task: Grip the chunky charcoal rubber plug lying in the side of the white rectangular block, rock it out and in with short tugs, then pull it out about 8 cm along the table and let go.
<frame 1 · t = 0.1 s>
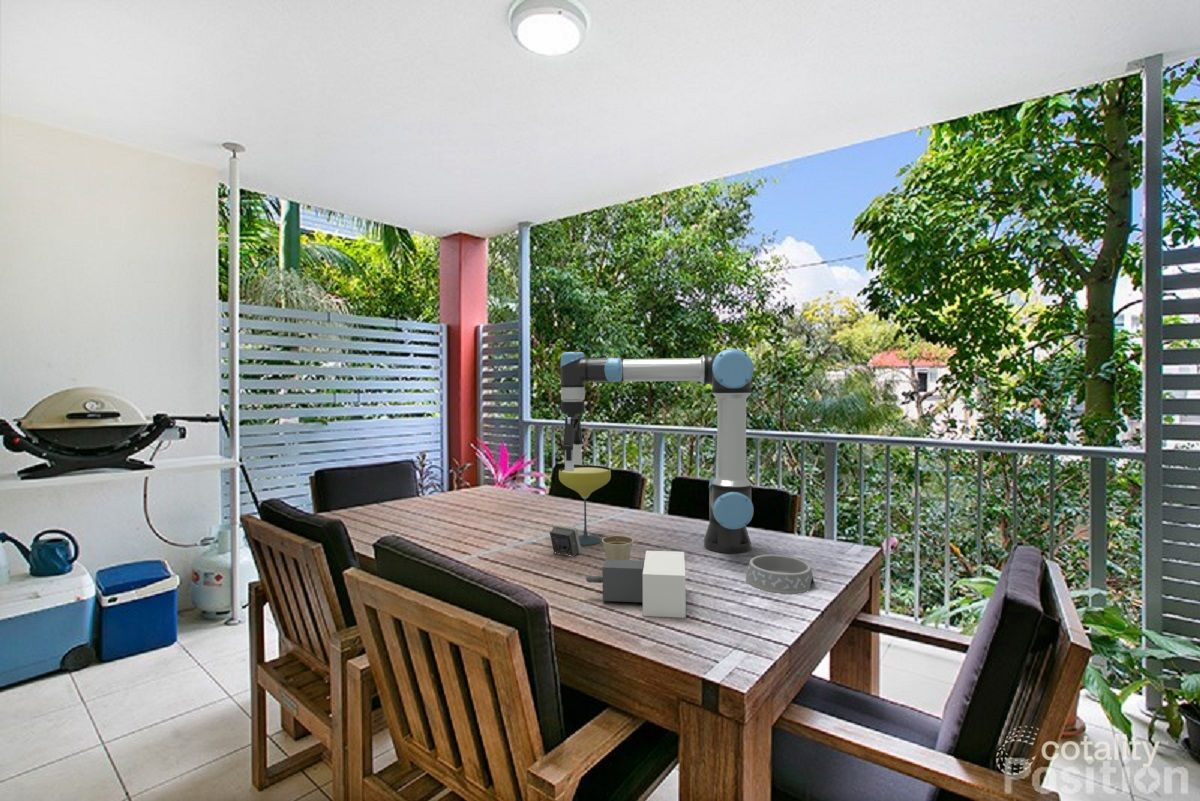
hand: (573, 467, 176), 28 cm above the table, tool pointing down, fingers open, 13 cm apart
flower pot: (618, 569, 163), on the table
white rectangular block: (664, 601, 139), on the table
cocktail glass: (585, 541, 192), on the table
dog bowl: (779, 583, 152), on the table
plug: (628, 580, 140), point 5 cm above the table, slide at 0.0 cm
electrical switch: (565, 554, 178), on the table
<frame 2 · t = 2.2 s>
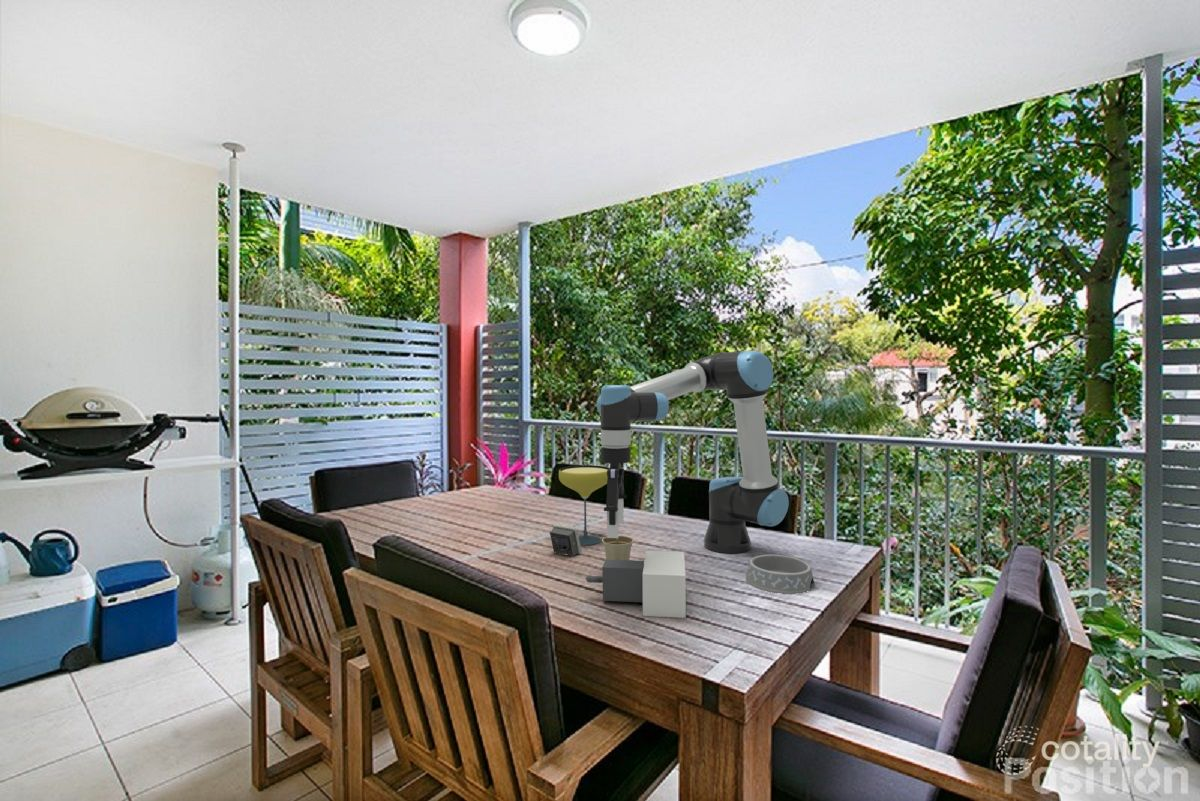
hand: (615, 530, 140), 18 cm above the table, tool pointing down, fingers open, 13 cm apart
nothing on the table moved.
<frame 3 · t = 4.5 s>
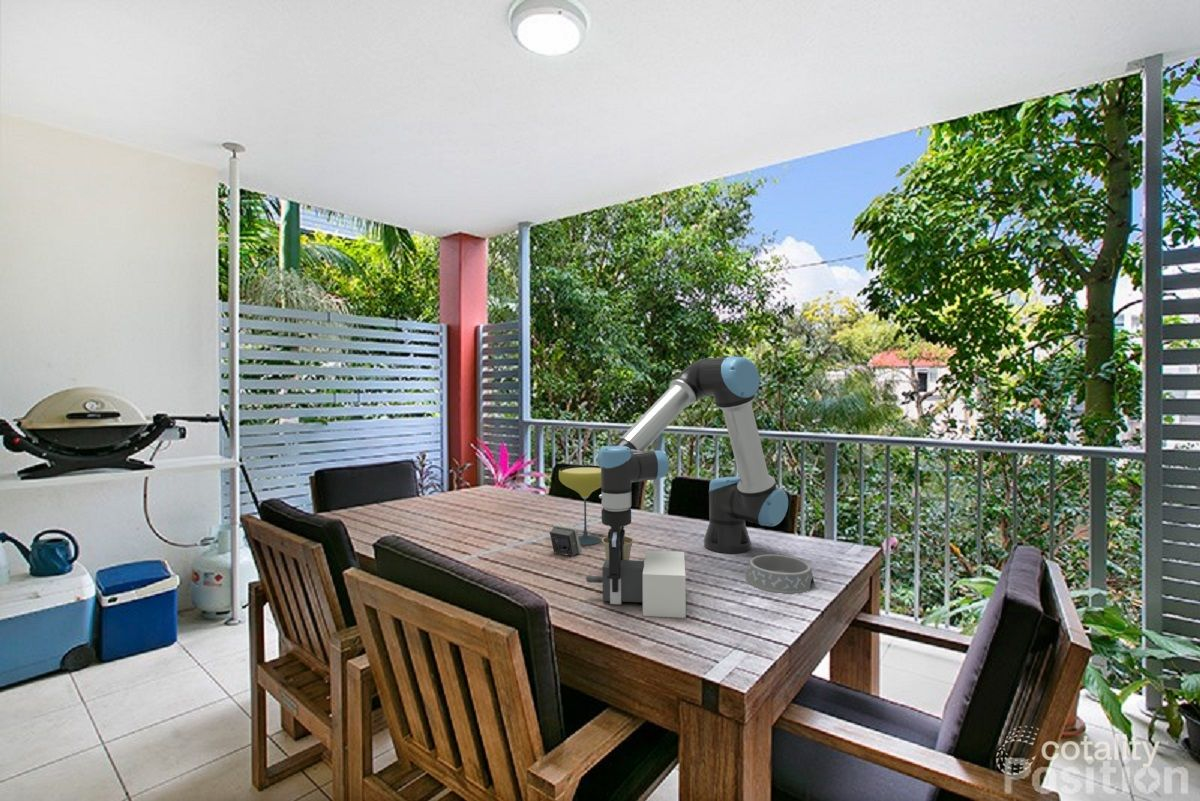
hand: (617, 598, 140), 0 cm above the table, tool pointing down, fingers closed on plug, 6 cm apart
plug: (628, 580, 140), point 5 cm above the table, slide at 0.0 cm, touching gripper
everything else where it was.
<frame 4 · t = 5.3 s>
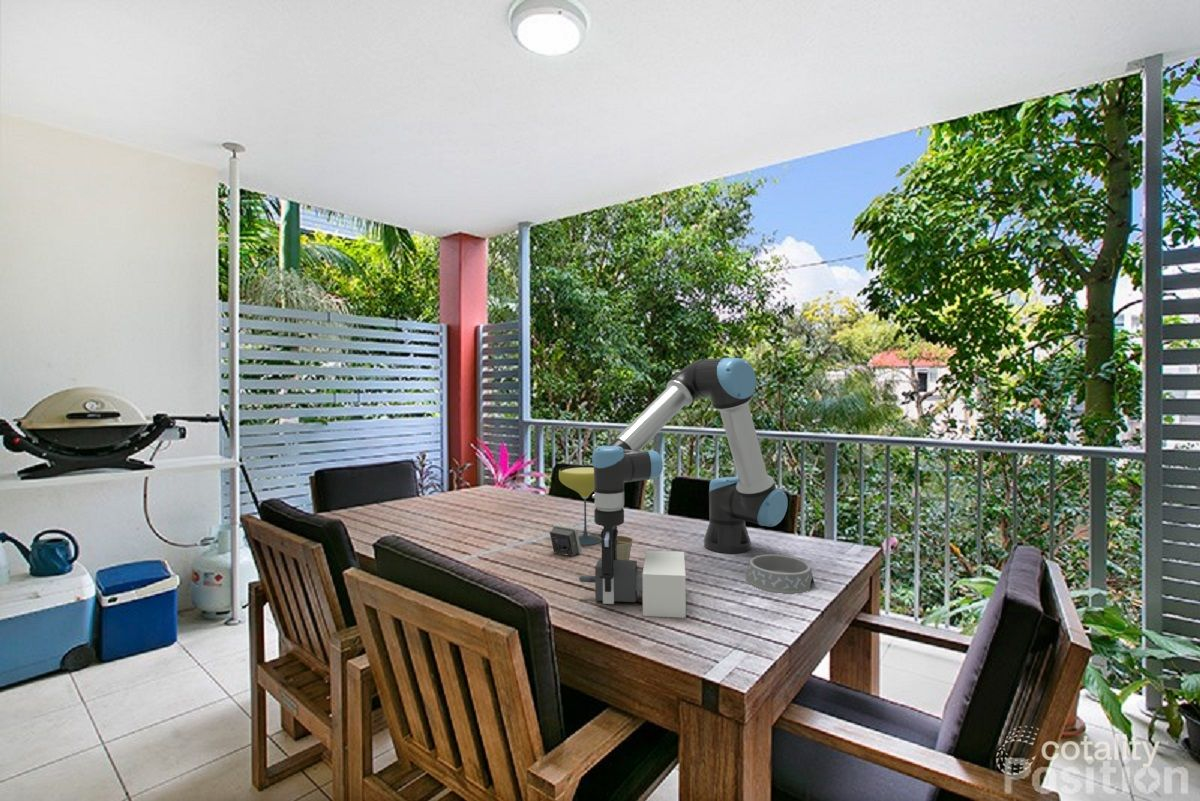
hand: (610, 597, 141), 0 cm above the table, tool pointing down, fingers closed on plug, 6 cm apart
plug: (621, 580, 140), point 5 cm above the table, slide at 1.8 cm, touching gripper
everything else where it was.
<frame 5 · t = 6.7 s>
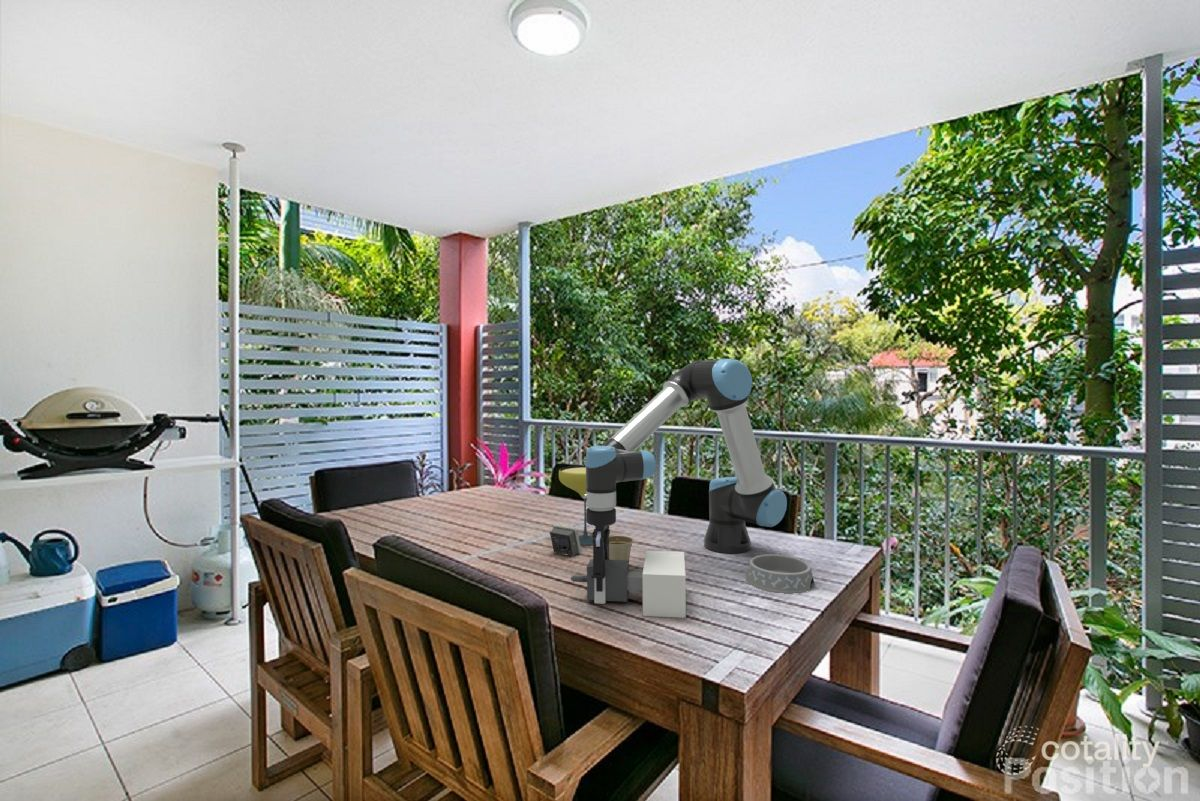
hand: (601, 597, 141), 0 cm above the table, tool pointing down, fingers closed on plug, 6 cm apart
plug: (613, 580, 140), point 5 cm above the table, slide at 3.9 cm, touching gripper
everything else where it was.
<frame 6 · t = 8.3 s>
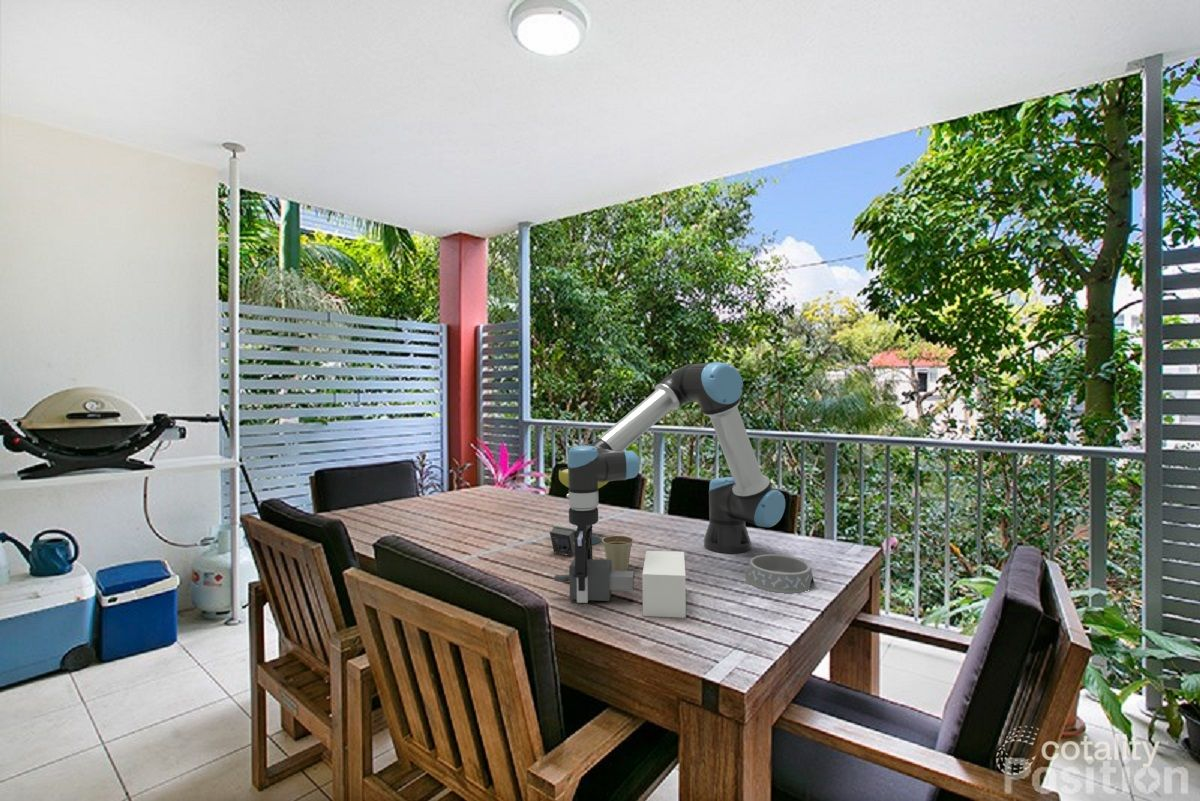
hand: (584, 596, 141), 0 cm above the table, tool pointing down, fingers closed on plug, 6 cm apart
plug: (596, 579, 141), point 5 cm above the table, slide at 8.4 cm, touching gripper
everything else where it was.
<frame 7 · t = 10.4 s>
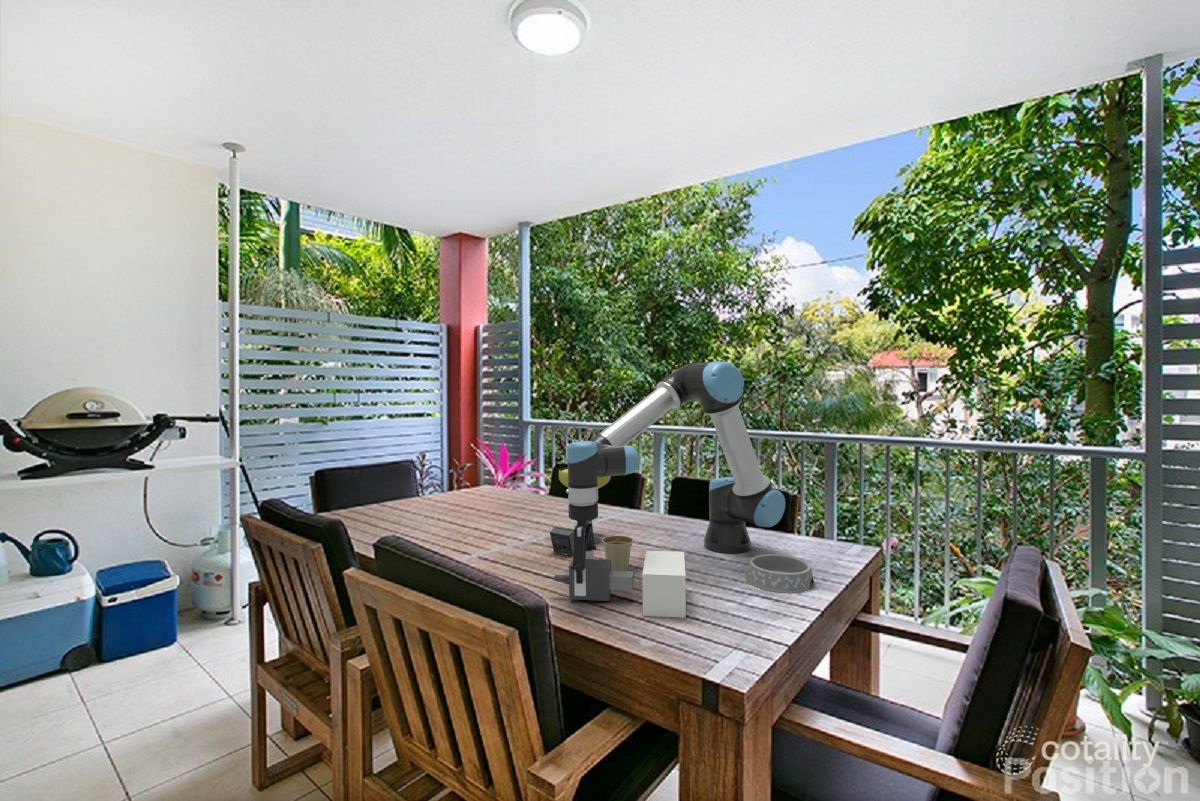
hand: (584, 584, 141), 3 cm above the table, tool pointing down, fingers open, 13 cm apart
plug: (595, 579, 141), point 5 cm above the table, slide at 8.5 cm
everything else where it was.
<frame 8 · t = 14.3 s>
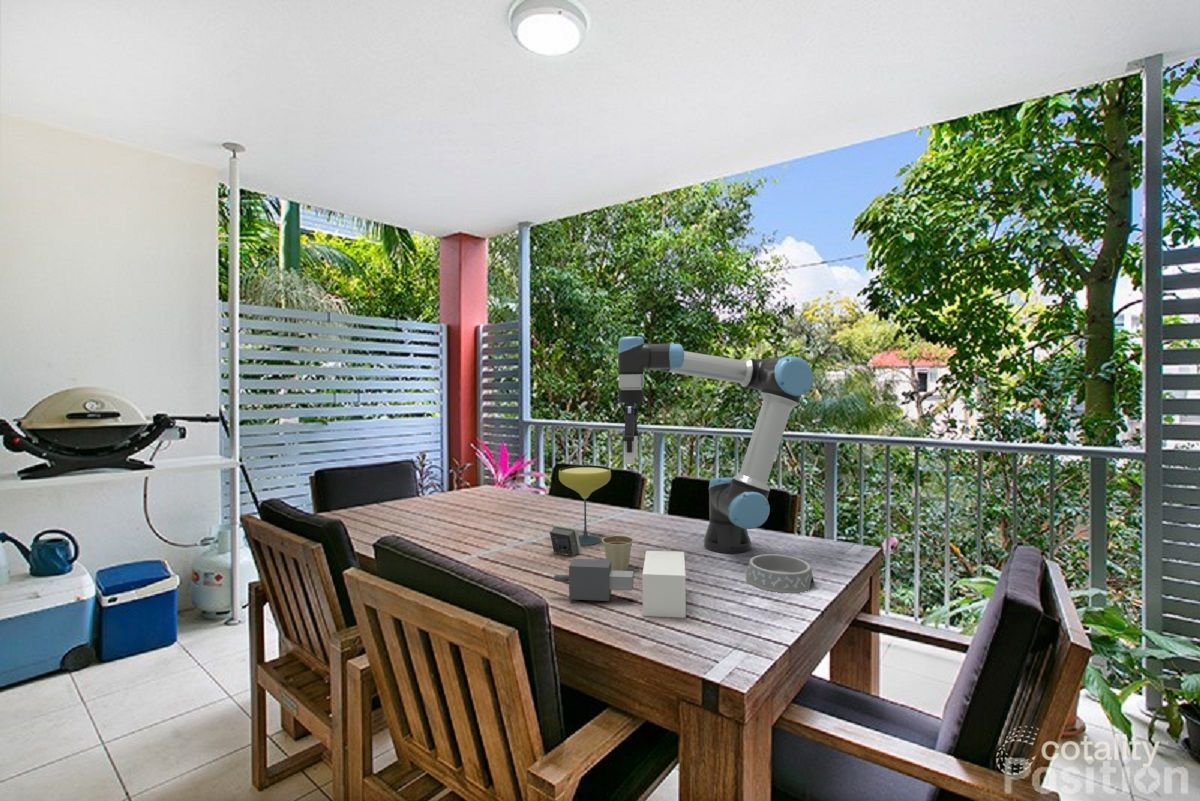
hand: (631, 460, 165), 32 cm above the table, tool pointing down, fingers open, 13 cm apart
nothing on the table moved.
at the end: plug slide at 8.5 cm; the gripper is holding nothing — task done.
